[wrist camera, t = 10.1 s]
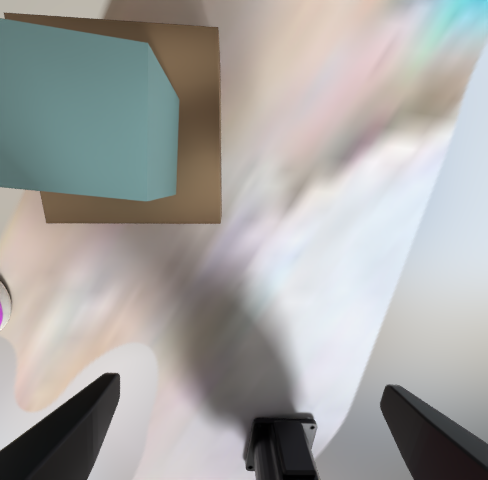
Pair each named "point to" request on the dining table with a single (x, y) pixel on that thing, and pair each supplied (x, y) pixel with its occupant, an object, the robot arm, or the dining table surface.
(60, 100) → the teal cube
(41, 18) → the walnut block
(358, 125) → the dining table surface
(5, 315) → the supplement bottle
